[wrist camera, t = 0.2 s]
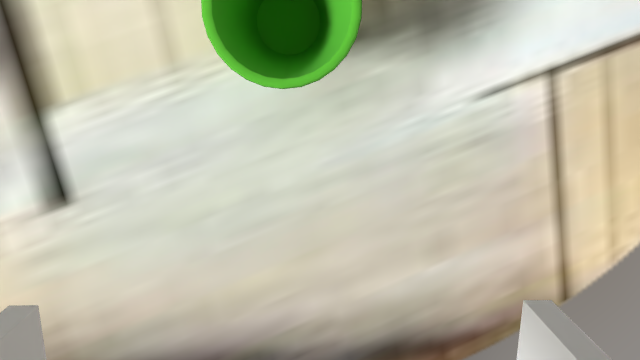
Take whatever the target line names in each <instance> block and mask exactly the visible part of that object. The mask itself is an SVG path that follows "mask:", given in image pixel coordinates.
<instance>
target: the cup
mask: <svg viewBox="0 0 640 360" xmlns="http://www.w3.org/2000/svg"><path fill="white" fill-rule="evenodd" d="M201 3H202V18H203V21H204V25H205V28H206V32H207V35H208V38H209V39H210V41H211V43H212V45H213V47H214V49H215V50H216V52H217V54H218V55H219V56H220V57H221V58H222V60H223V61H224V62H225V63H226V64H227V65H228V66H229V67H230V68H231V69H232V70H233V71H235V72H236V73H238V74H239V75H241V76H242V77H243V78H245V79H246V80H249V81H251V82H254V83H256V84H259V85H261V86H264V87H271V88H279V89H287V88H296V87H302V86H305V85H308V84H310V83H313V82H316V81H318V80H320V79H321V78H323V77H324V76H326V75H327V74H329V73H330V72H331V71H333V70H334V69H335V68H336V67H337V66H338V65H339V64H340V63H341V61H342V60H343V59H344V58H345V57H346V56H347V54H348V52H349V51H350V49H351V47H352V45H353V43H354V41H355V39H356V37H357V33H358V29H359V26H360V22H361V16H362V0H201Z"/></svg>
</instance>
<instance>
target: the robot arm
mask: <svg viewBox="0 0 640 360" xmlns="http://www.w3.org/2000/svg"><path fill="white" fill-rule="evenodd" d="M0 360H46V353H45V347H44V340H43V334H42V327H41V321H40V314H39V308H38V305H30V306H8V307H7V308H6V309H4V310H3V311H2V312H1V313H0ZM517 360H612V359H611V358H610V357H609V356H608V355H607V354H606V353H605V352H604V351H603V350H602V349H601V348H600V347H599V346H598V345H597V344H596V343H594V342H593V341H592V340H591V339H590V338H589V337H588V336H587V335H586V334H585V333H584V332H583V331H582V330H581V329H580V328H579V327H578V326H577V325H576V324H575V323H574V322H573V321H572V320H571V319H570V318H569V317H568V316H567V315H566V314H565V313H564V312H563V311H562V310H561V309H560V308H559V307H558V306H557V305H556V304H554V303H553V302H552V301H551V300H523V309H522V318H521V326H520V335H519V344H518V352H517Z"/></svg>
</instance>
